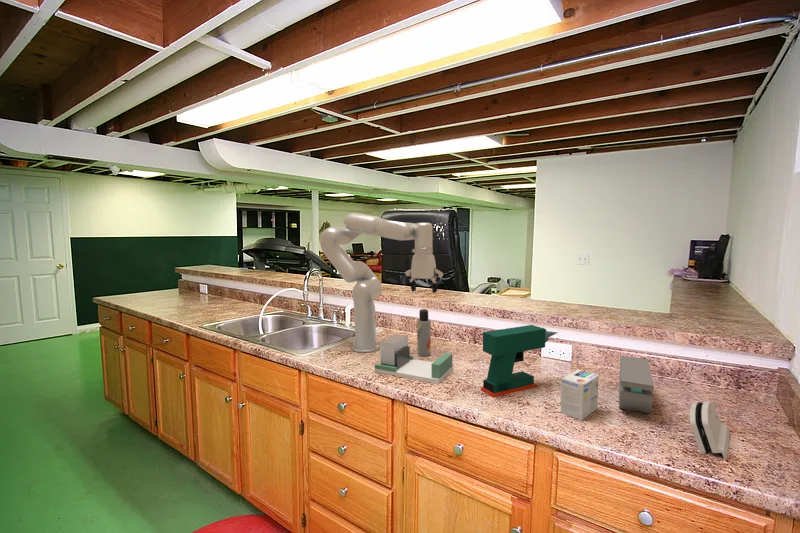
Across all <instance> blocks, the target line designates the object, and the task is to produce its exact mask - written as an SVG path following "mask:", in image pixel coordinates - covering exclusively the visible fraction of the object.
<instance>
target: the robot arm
mask: <svg viewBox="0 0 800 533" xmlns="http://www.w3.org/2000/svg"><path fill="white" fill-rule="evenodd" d="M343 224H344V225H343V226H330V227H327V228H325V229H324V230H323V231H322V233H321V235H320V239H319V244H320V248H321V251H322V252H323V254H324V256H325V257H326V258H327V259H328V261H329V262H330V263H331V264H332V266H333V267H334V268H335V270H336V271H337V272H338V274H339V275H340V276H341V278H342V279H343V281H344V282H346V283H355V285H354V286H353V287H352V289H351V290H352V292H351V294H352V296H351V297H352V301H353V308H354V310H353V311H354V337H352V336H351V337H349V339H348V343H349V344H352V346H351V350H352V351H354V352H356V353H372V352H376V351H378V350H380V344H378V343H377V340H376V338H377V337H376V336H377V333H376V332H377V331H376V330H377V329H376V328H377V327H376V305H375V302H374V299H377V298H378V297H380V295H382V292H383V285H382V283H381V280H379V279H378V277H377V276H376V275H375V273H374V272H373V270H372V269H371V268H370V267H369V266H368V264H366V263H365V262H364V261H361V260H354V259H352V257H351V256H350V255H349V253H348V252H347V251H346V250H344V249H343V248H342V247H341V246H342V245H343V246H344V245H348V244H350V243H351V242H353V241H354V240H355V239H357V238H359V236H361V235H362V234H365V235H371V236H376V237H380V238H381V237H382V238H385V239H390V240H397V241H412V240H414V248H412V249H411V252H412V253H414V254H413V255H412V258H411V264H410V265H411V266H410V267H411V268H410V269H408V270H406V271H405V272H404V273H405V276H406V279H408V280H409V283H410V289H411V292H412V293H413V292H415V291H417V283H416V280H417V279H418V280H420V279H422V280H431V281H432V286H431V288H432V292H431V293H433V294H435V293H437V291H438V283H439V282H440V281H441V280H442V278H443V276H444V273H443V272H442V271H440V270H439V269H437V264H436V258H435V255H434V254H433V252H434V251H433V224H432V223H430V222H416V223H413V222H403V221H396V220H395V221H394V220H389V219H385V218H381V217H380V216H376V215H369V214H364V213H361V212H360V213H359V212H350V213H348V214H346V215H345V217H344V219H343ZM437 275H438V277H437Z"/></svg>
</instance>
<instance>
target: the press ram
mask: <svg viewBox="0 0 800 533" xmlns="http://www.w3.org/2000/svg"><path fill="white" fill-rule="evenodd" d="M379 343H380V344H379V350H380V364H381V365H386V366H392V367H397V370H398V369H399V368H400V367H402V366H403V365H405V364H406V363H407V362H409V361H410V355H411V353H410V350H411V348H410V346H409V337H408V335H402V334H397V333H395V334H392V335H390V336H388V337H387V338H386V339H385V338H384V339H383V340H382V341H380V342H379Z"/></svg>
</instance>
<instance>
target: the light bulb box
mask: <svg viewBox="0 0 800 533" xmlns="http://www.w3.org/2000/svg"><path fill="white" fill-rule="evenodd" d="M599 376H600V375H599V374H597V373H592V372H588V371H585V370H580V369H575V370H574V371H573V372H571V373H569V374H567V375H565V376H563V377H562V378H561V384H560V385H561V387H560V388H561V389H560V413H561V414H564V415H566V416H569V417H572V418H575V419H576V420H580V421H583V420H585V419H586V418H587V417H588V416H590V415H591V414H593V413H594V412H595V411H596V410H598V401H599V400H598V399H599V378H600V377H599Z"/></svg>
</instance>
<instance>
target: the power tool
mask: <svg viewBox="0 0 800 533" xmlns="http://www.w3.org/2000/svg"><path fill="white" fill-rule="evenodd" d="M556 334H559V332H557V331H551V330H550V331H549V330H547V329H546V328H545V327H541V326H537V325H534V324H527V325H522V326H521V325H520V326H515V327H509V328H503V329H501V328H500V329H495V330H488V331H482V352H484V353H486V354H488V355H491V358H490V362H489V366H488V372H487V375H486V376H487V377H486V379H483V380H482V381H483V382H482V383H483V386H481V387H480V391H481V392H484V393H485V394H486V395H488V396H490V397H491V398H497V397H503V396H506V395H510V394H515V393H518V392H522V391H526V390H531V389H534V388H537V384H536V383H535V376H534V375H532V374H530V373H527V372H525V371H523V370H522V371H518V372H514V367H515V363H520V362H524V357H525V356H524V354H525V352H527V351H532V350H538V349H543V348H546V343H547V342H548V341H549V339H550V338H551V337H552V336H554V335H556Z"/></svg>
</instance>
